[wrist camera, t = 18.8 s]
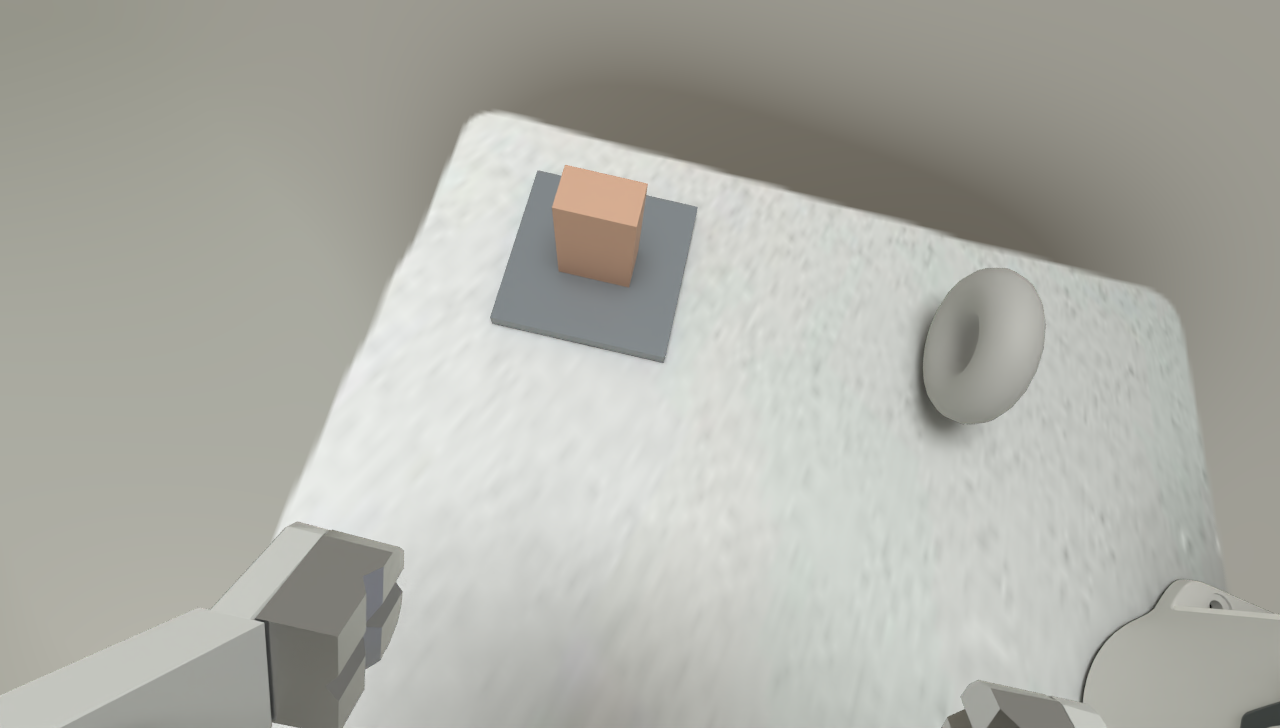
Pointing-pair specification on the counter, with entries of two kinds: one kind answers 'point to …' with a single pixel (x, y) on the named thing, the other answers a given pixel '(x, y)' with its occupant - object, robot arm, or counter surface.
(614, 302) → the coaster
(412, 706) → the counter surface
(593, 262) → the block
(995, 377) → the donut
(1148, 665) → the robot arm
